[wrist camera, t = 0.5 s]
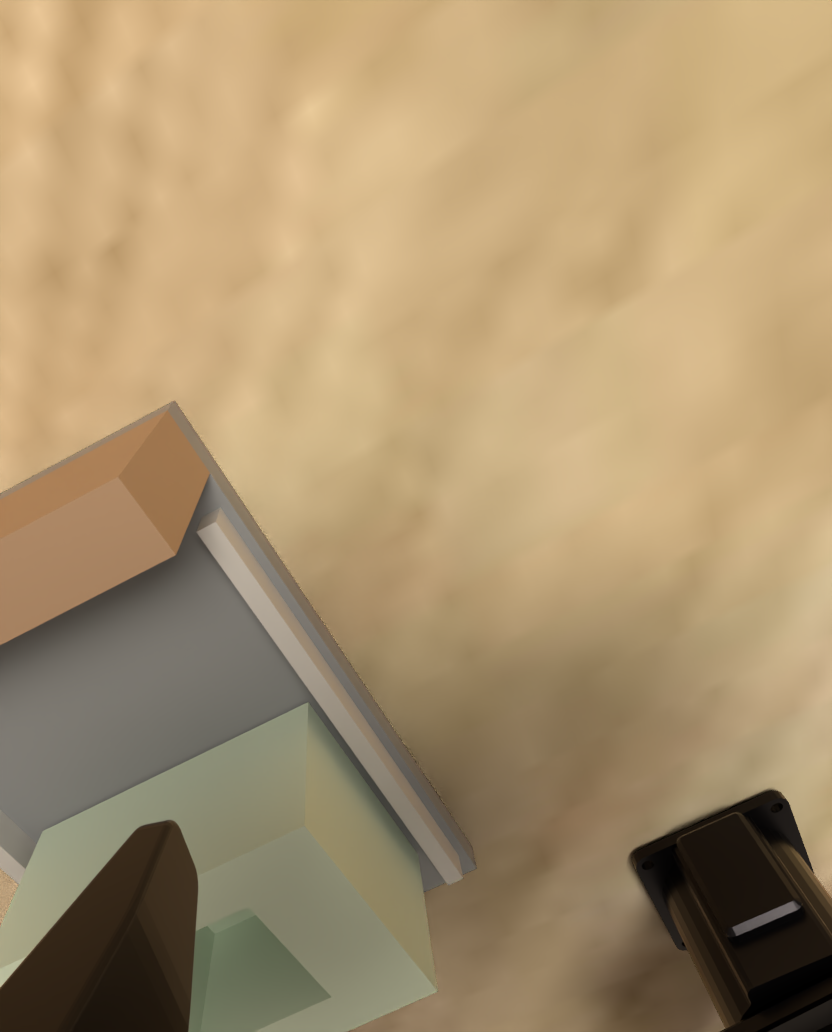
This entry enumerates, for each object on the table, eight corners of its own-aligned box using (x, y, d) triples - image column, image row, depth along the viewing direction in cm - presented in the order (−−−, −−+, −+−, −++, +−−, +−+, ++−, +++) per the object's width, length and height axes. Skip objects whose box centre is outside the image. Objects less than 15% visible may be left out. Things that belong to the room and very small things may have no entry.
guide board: (471, 846, 28) (507, 1003, 22) (182, 978, 29) (149, 1159, 24) (174, 400, 20) (118, 476, 14) (-213, 607, 21) (-403, 751, 15)
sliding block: (418, 854, 26) (437, 991, 22) (181, 963, 27) (152, 1117, 23) (308, 702, 23) (304, 825, 18) (42, 830, 24) (-24, 979, 19)
